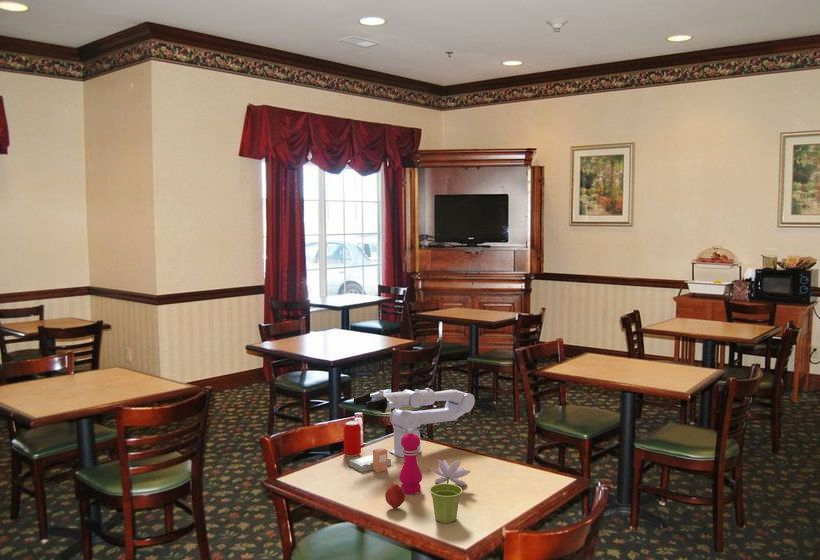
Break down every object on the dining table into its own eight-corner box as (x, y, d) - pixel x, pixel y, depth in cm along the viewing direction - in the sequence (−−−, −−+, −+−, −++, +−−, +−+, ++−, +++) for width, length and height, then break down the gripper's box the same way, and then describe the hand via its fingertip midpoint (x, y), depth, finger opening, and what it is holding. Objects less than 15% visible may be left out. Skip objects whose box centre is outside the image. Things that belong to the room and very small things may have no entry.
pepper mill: (422, 486, 223) (422, 425, 222) (421, 495, 216) (420, 432, 214) (400, 485, 224) (400, 425, 222) (398, 494, 217) (397, 431, 215)
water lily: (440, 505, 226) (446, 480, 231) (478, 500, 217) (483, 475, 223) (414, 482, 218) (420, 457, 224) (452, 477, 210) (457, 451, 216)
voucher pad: (377, 458, 250) (377, 452, 250) (390, 464, 244) (390, 458, 243) (349, 465, 243) (349, 459, 242) (362, 472, 236) (362, 466, 236)
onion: (394, 502, 210) (394, 477, 210) (408, 507, 207) (408, 481, 206) (381, 508, 206) (381, 482, 205) (396, 514, 202) (396, 487, 202)
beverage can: (341, 453, 256) (341, 421, 255) (357, 451, 258) (357, 419, 257) (347, 458, 250) (346, 426, 249) (363, 456, 253) (363, 423, 252)
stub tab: (382, 467, 241) (382, 447, 240) (387, 469, 238) (387, 450, 238) (372, 470, 238) (372, 450, 238) (378, 472, 236) (377, 452, 235)
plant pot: (460, 511, 204) (460, 483, 203) (464, 525, 194) (464, 495, 194) (428, 512, 203) (428, 483, 203) (430, 526, 194) (430, 496, 193)
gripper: (380, 385, 256) (349, 388, 248) (404, 393, 245) (372, 396, 237) (379, 404, 257) (348, 407, 248) (402, 413, 245) (371, 416, 237)
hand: (360, 403), depth 242 cm, fingers open, 7 cm apart
